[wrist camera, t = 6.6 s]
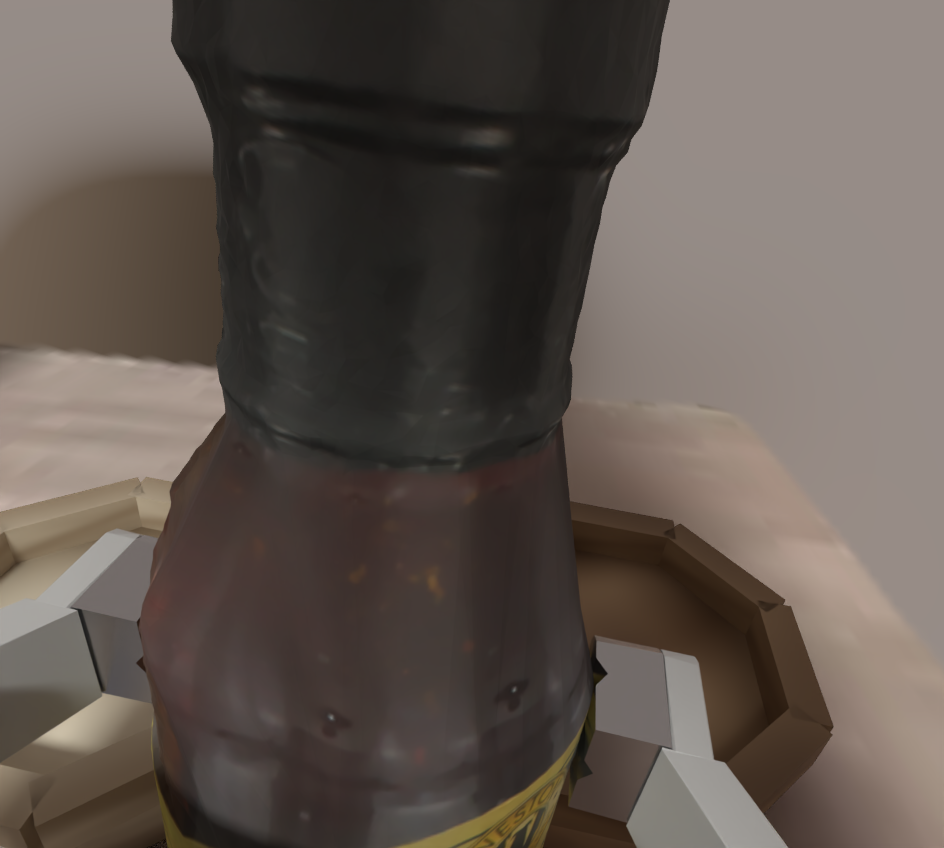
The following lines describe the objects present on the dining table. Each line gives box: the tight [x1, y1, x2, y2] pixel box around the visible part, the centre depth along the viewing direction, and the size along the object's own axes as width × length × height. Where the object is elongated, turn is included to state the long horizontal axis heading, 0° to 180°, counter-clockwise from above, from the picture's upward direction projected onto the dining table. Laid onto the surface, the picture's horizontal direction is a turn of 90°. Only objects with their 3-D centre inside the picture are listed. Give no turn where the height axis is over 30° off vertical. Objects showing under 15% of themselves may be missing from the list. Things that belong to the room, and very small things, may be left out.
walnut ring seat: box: [543, 502, 834, 848], centre depth 22 cm, size 12×12×4 cm
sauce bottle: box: [139, 0, 670, 848], centre depth 10 cm, size 7×6×20 cm
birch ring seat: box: [0, 477, 173, 848], centre depth 21 cm, size 12×12×4 cm
